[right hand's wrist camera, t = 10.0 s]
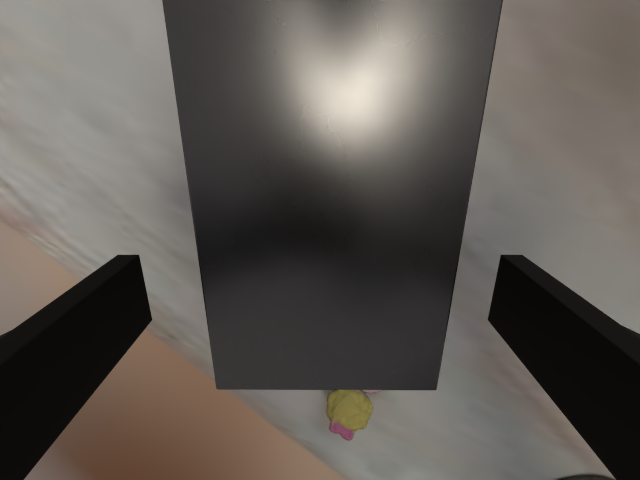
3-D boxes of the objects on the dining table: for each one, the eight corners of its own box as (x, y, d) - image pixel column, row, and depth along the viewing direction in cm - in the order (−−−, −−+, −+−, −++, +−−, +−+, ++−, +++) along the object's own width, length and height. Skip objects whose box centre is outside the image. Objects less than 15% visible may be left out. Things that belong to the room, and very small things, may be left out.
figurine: (402, 290, 34) (311, 391, 37) (416, 313, 29) (312, 425, 33) (446, 320, 35) (354, 415, 38) (465, 347, 31) (360, 451, 34)
